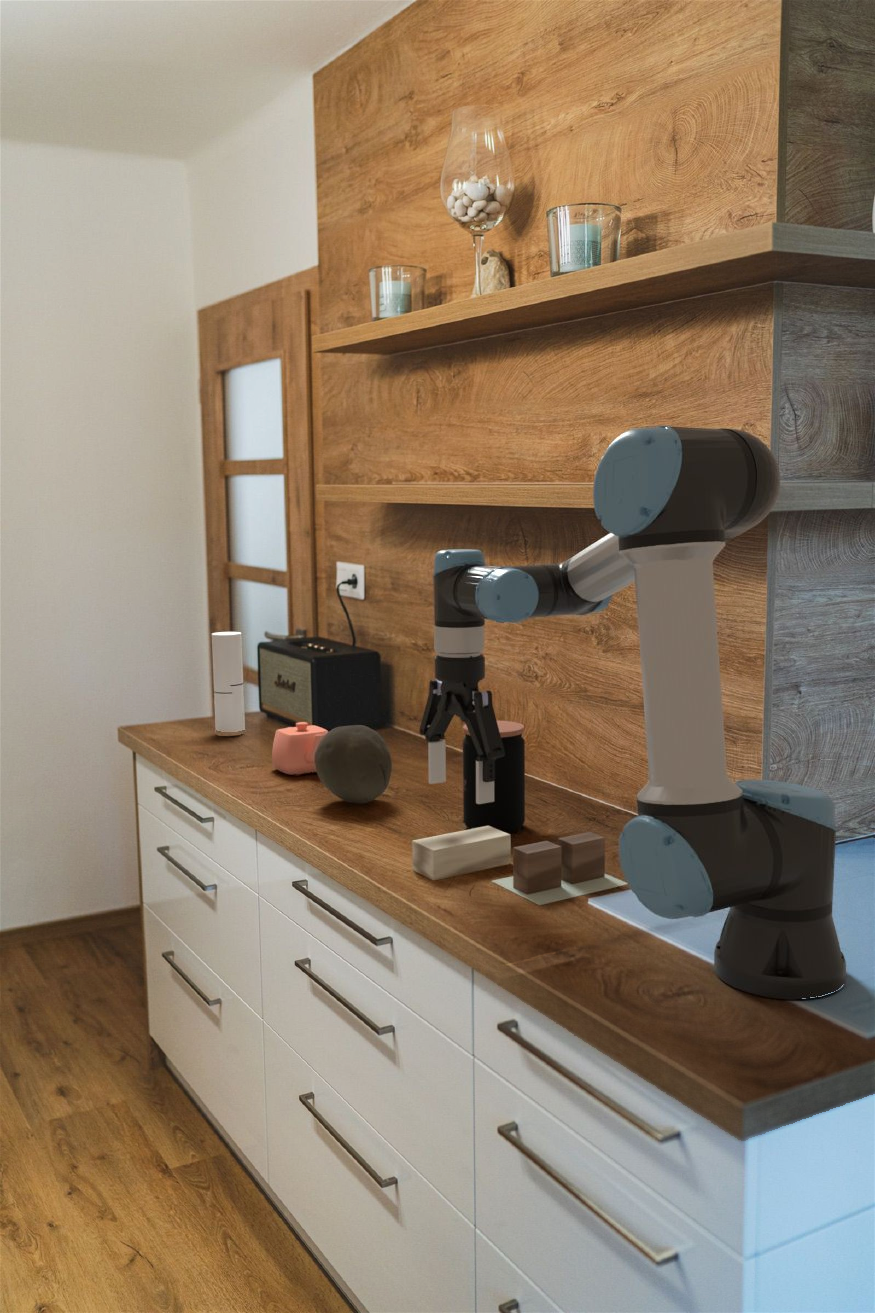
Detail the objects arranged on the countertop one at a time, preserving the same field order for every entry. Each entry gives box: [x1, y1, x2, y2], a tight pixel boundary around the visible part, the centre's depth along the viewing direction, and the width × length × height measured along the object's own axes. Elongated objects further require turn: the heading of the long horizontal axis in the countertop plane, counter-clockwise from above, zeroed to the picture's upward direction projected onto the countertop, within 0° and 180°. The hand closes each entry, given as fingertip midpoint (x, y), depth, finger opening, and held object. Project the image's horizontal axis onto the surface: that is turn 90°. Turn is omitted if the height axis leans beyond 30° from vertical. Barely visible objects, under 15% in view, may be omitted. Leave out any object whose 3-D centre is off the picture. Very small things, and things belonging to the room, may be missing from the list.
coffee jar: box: [462, 720, 526, 835], centre depth 199 cm, size 11×11×18 cm
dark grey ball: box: [315, 724, 393, 805], centre depth 216 cm, size 14×14×15 cm
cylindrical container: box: [211, 631, 246, 732], centre depth 281 cm, size 7×7×25 cm
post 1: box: [512, 840, 561, 895], centre depth 165 cm, size 4×6×6 cm, turn 121°
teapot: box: [271, 721, 329, 776], centre depth 243 cm, size 12×18×10 cm, turn 30°
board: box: [491, 873, 628, 906], centre depth 168 cm, size 12×16×1 cm
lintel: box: [411, 826, 512, 881], centre depth 175 cm, size 6×14×6 cm, turn 122°
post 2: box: [557, 831, 606, 884], centre depth 169 cm, size 4×6×6 cm, turn 121°
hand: (460, 792), depth 174 cm, fingers open, 13 cm apart
